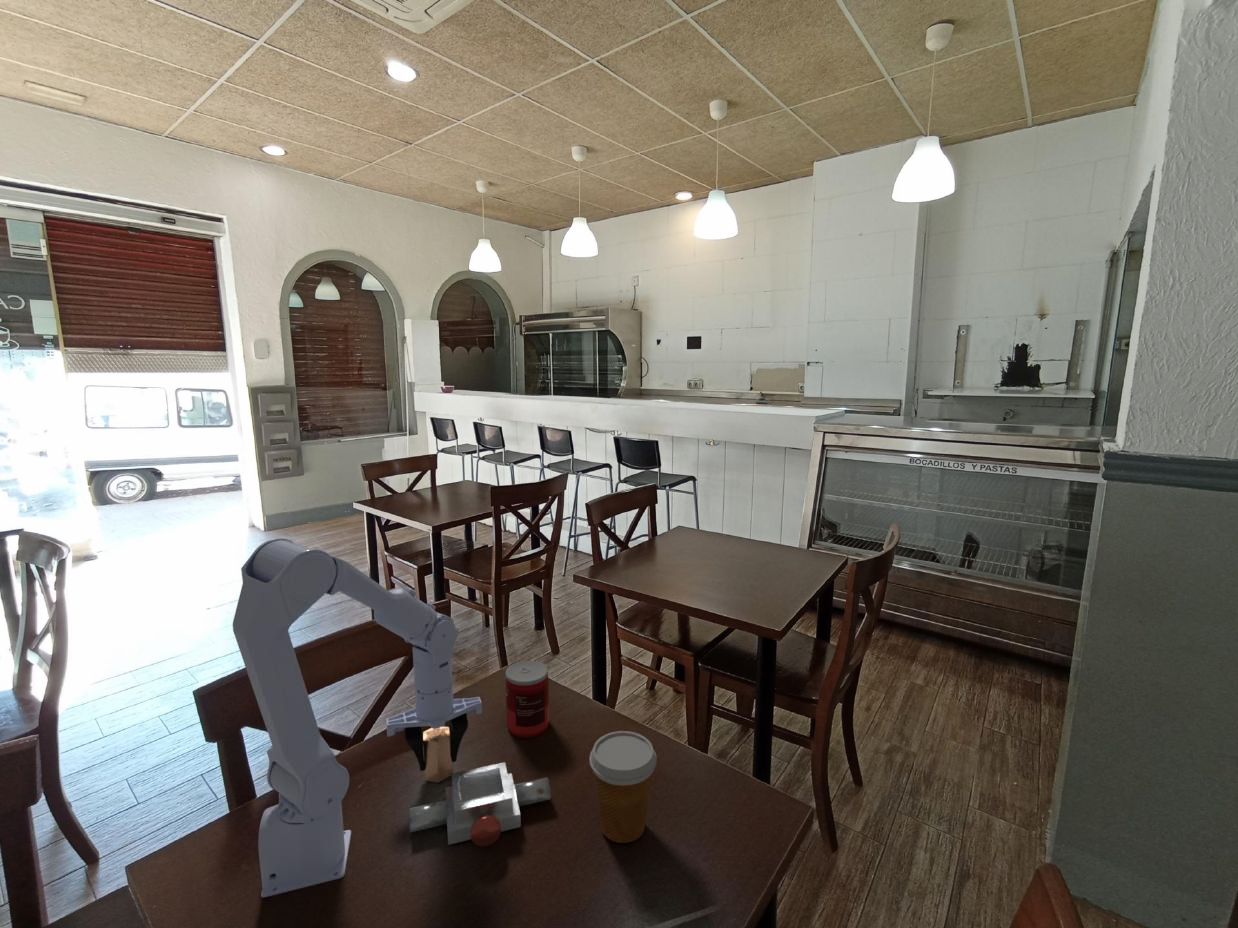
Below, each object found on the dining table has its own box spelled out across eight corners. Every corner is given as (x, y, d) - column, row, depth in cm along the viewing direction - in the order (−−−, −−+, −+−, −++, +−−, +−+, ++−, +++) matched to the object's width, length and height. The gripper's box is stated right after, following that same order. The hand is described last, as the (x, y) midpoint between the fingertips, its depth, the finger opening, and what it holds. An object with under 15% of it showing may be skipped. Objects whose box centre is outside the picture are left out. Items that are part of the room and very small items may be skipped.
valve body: (409, 868, 74) (407, 838, 73) (411, 807, 85) (409, 779, 84) (558, 830, 80) (558, 801, 80) (543, 777, 91) (542, 751, 90)
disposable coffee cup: (579, 841, 78) (578, 762, 77) (604, 794, 87) (604, 723, 85) (644, 861, 75) (645, 779, 73) (663, 810, 84) (664, 736, 82)
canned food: (527, 708, 110) (526, 656, 108) (558, 723, 105) (557, 668, 104) (497, 728, 104) (495, 672, 102) (528, 744, 99) (527, 686, 98)
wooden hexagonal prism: (425, 785, 89) (423, 744, 88) (425, 766, 94) (423, 727, 93) (451, 779, 90) (449, 739, 89) (450, 761, 95) (448, 723, 94)
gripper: (386, 708, 83) (391, 792, 85) (485, 686, 89) (487, 764, 91) (383, 685, 89) (388, 763, 91) (475, 666, 96) (478, 739, 98)
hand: (437, 762), depth 92 cm, fingers closed on wooden hexagonal prism, 4 cm apart
